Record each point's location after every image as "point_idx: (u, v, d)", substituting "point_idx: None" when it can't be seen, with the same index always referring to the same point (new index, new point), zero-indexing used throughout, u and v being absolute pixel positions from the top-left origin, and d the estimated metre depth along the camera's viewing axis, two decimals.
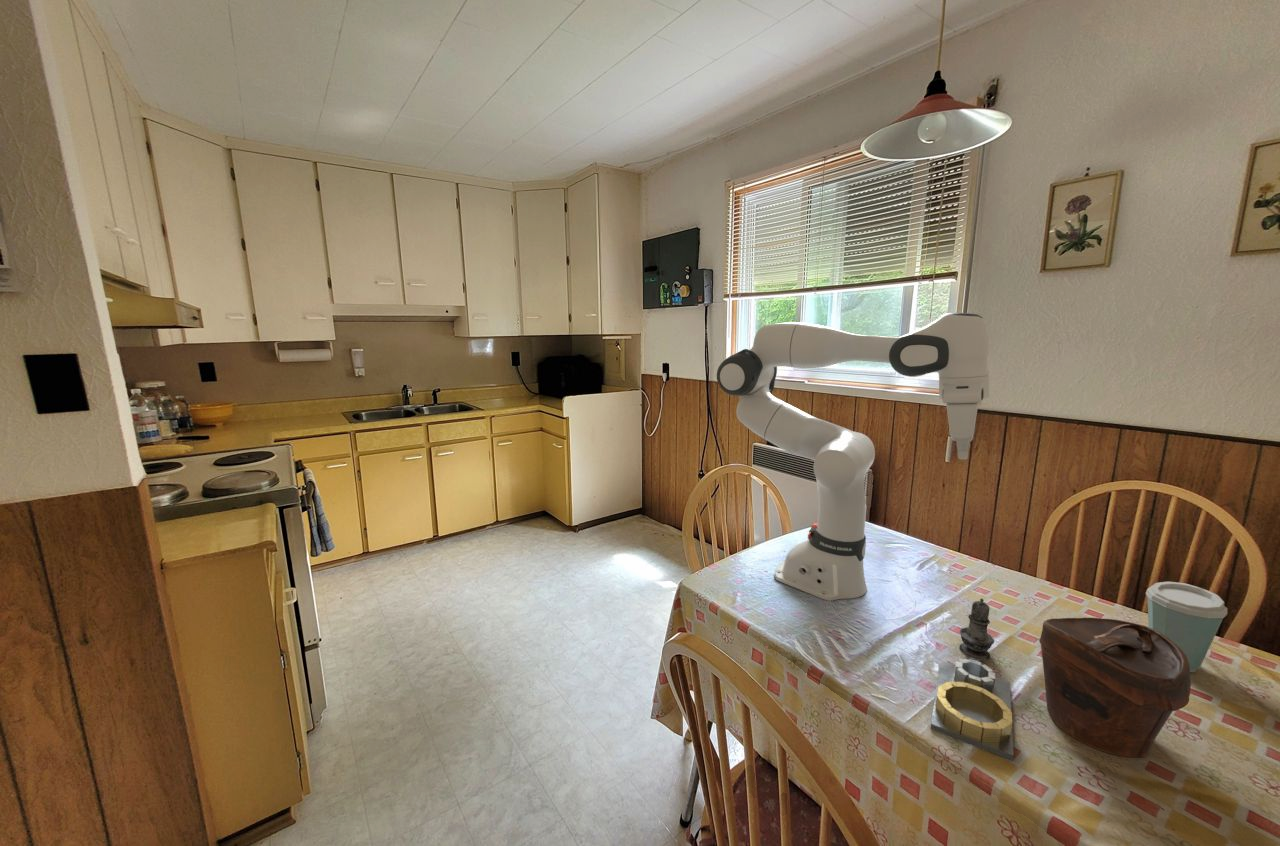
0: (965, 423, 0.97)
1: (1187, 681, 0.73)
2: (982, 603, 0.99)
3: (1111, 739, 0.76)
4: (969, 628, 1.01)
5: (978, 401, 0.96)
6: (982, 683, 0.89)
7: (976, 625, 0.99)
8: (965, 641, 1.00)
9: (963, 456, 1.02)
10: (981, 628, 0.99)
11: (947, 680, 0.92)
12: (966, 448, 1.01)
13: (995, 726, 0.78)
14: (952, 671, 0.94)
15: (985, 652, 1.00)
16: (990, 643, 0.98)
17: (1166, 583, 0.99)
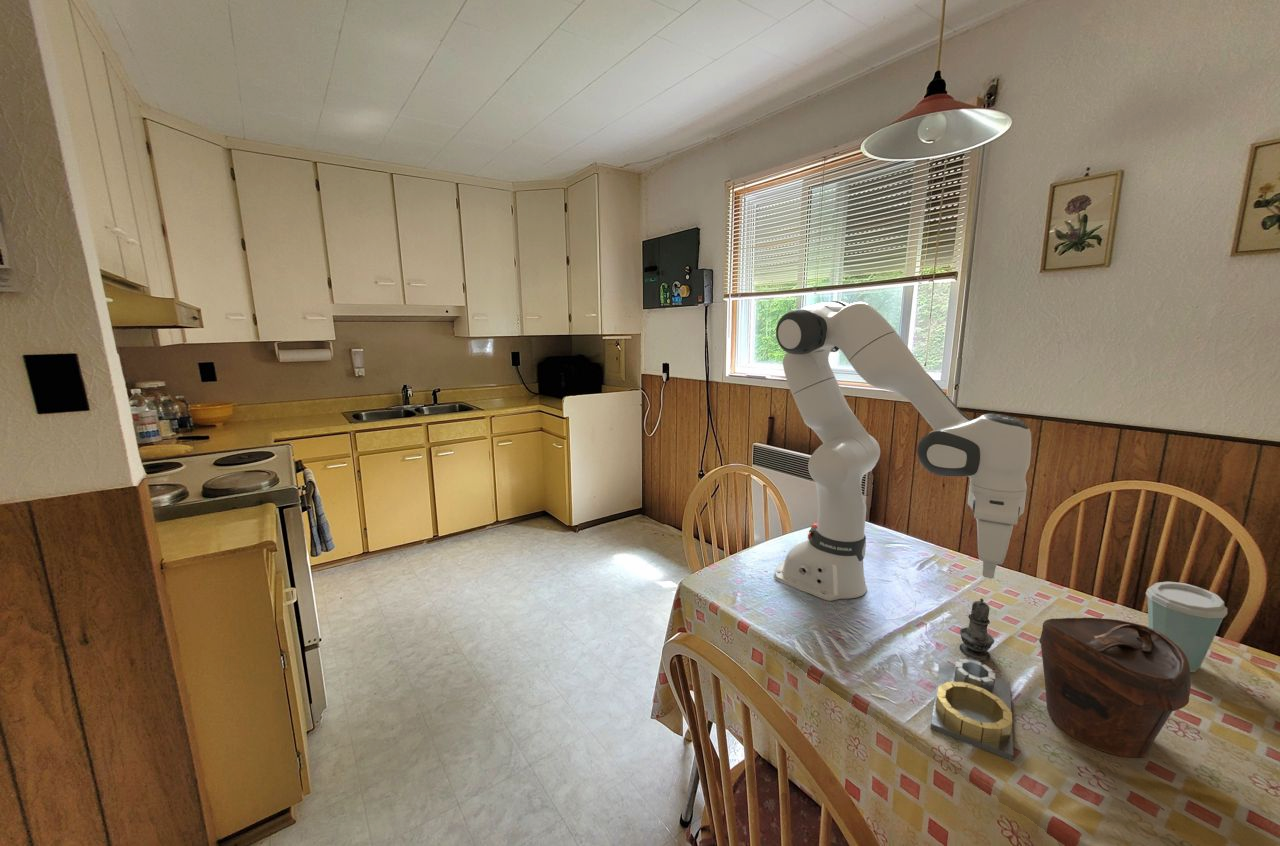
0: (996, 545, 0.88)
1: (1187, 681, 0.73)
2: (982, 603, 0.99)
3: (1111, 739, 0.76)
4: (969, 628, 1.01)
5: (1014, 523, 0.87)
6: (982, 683, 0.89)
7: (976, 625, 0.99)
8: (965, 641, 1.00)
9: (989, 574, 0.93)
10: (981, 628, 0.99)
11: (947, 680, 0.92)
12: (993, 567, 0.92)
13: (995, 726, 0.78)
14: (952, 671, 0.94)
15: (985, 652, 1.00)
16: (990, 643, 0.98)
17: (1166, 583, 0.99)
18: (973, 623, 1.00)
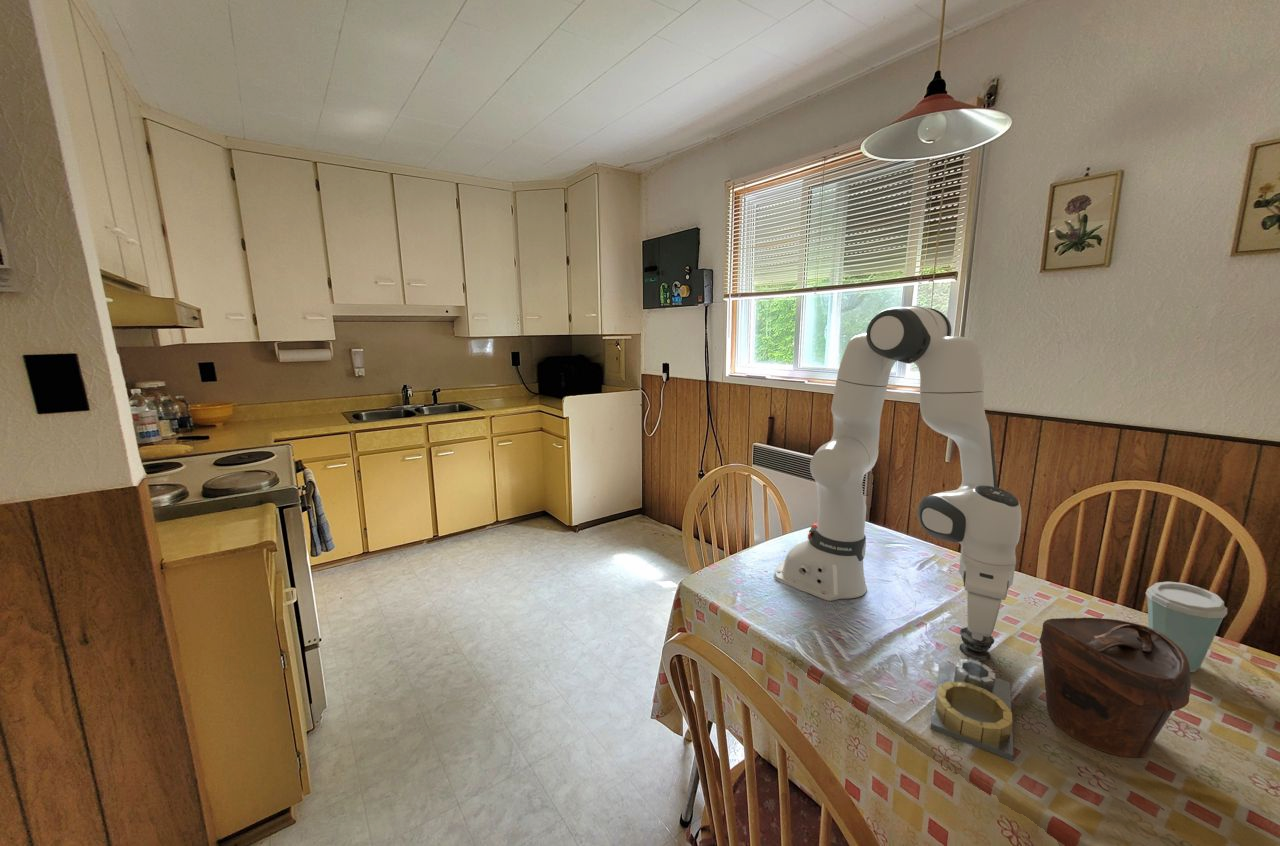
0: (985, 619, 0.91)
1: (1187, 681, 0.73)
2: None
3: (1111, 739, 0.76)
4: None
5: (1002, 599, 0.90)
6: (982, 683, 0.89)
7: None
8: (965, 641, 1.00)
9: (977, 637, 0.98)
10: None
11: (947, 680, 0.92)
12: None
13: (995, 726, 0.78)
14: (952, 671, 0.94)
15: (985, 652, 1.00)
16: (990, 643, 0.98)
17: (1166, 583, 0.99)
18: None
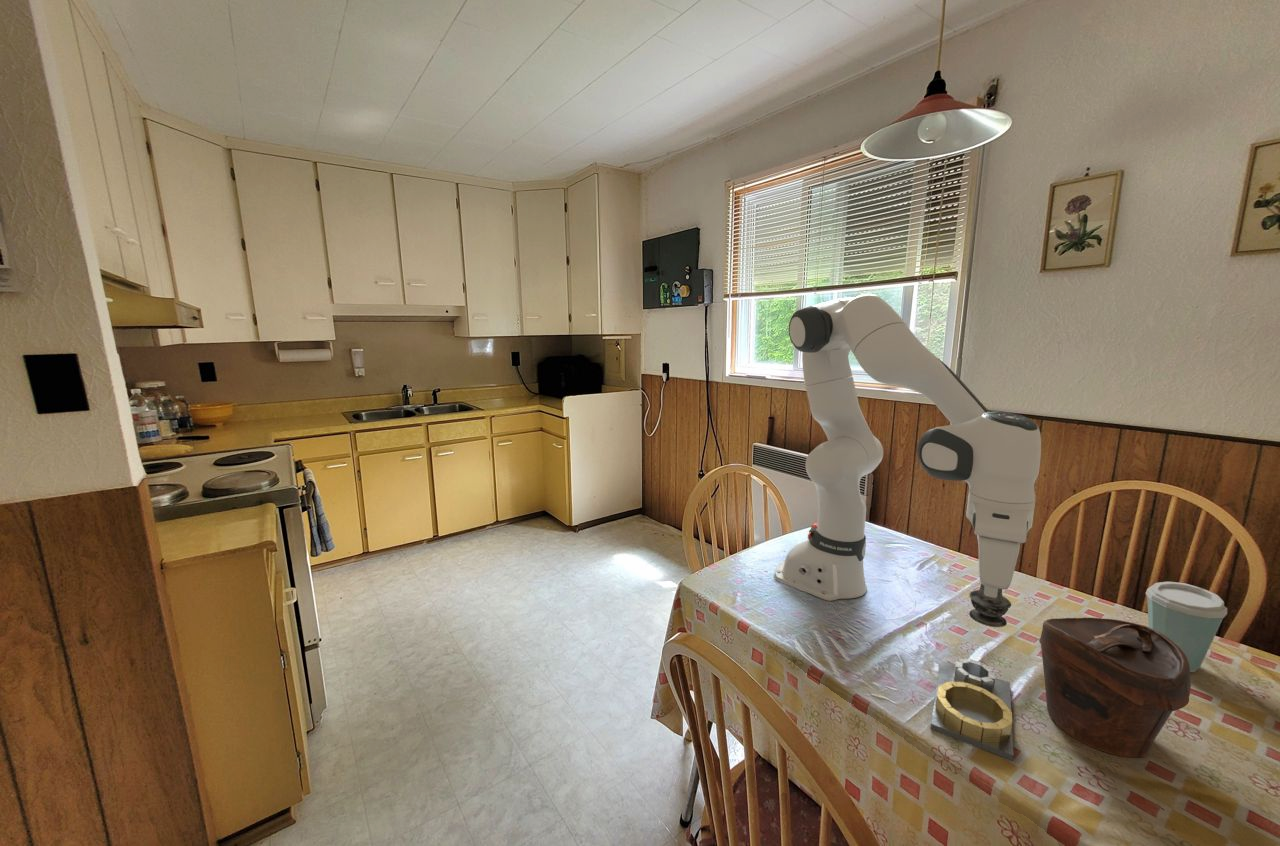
0: (1001, 567, 0.74)
1: (1187, 681, 0.73)
2: None
3: (1111, 739, 0.76)
4: (981, 590, 0.84)
5: (1022, 541, 0.73)
6: (982, 683, 0.89)
7: None
8: (976, 605, 0.84)
9: (991, 593, 0.81)
10: None
11: (947, 680, 0.92)
12: None
13: (995, 726, 0.78)
14: (952, 671, 0.94)
15: (1001, 618, 0.84)
16: (1007, 606, 0.82)
17: (1166, 583, 0.99)
18: None
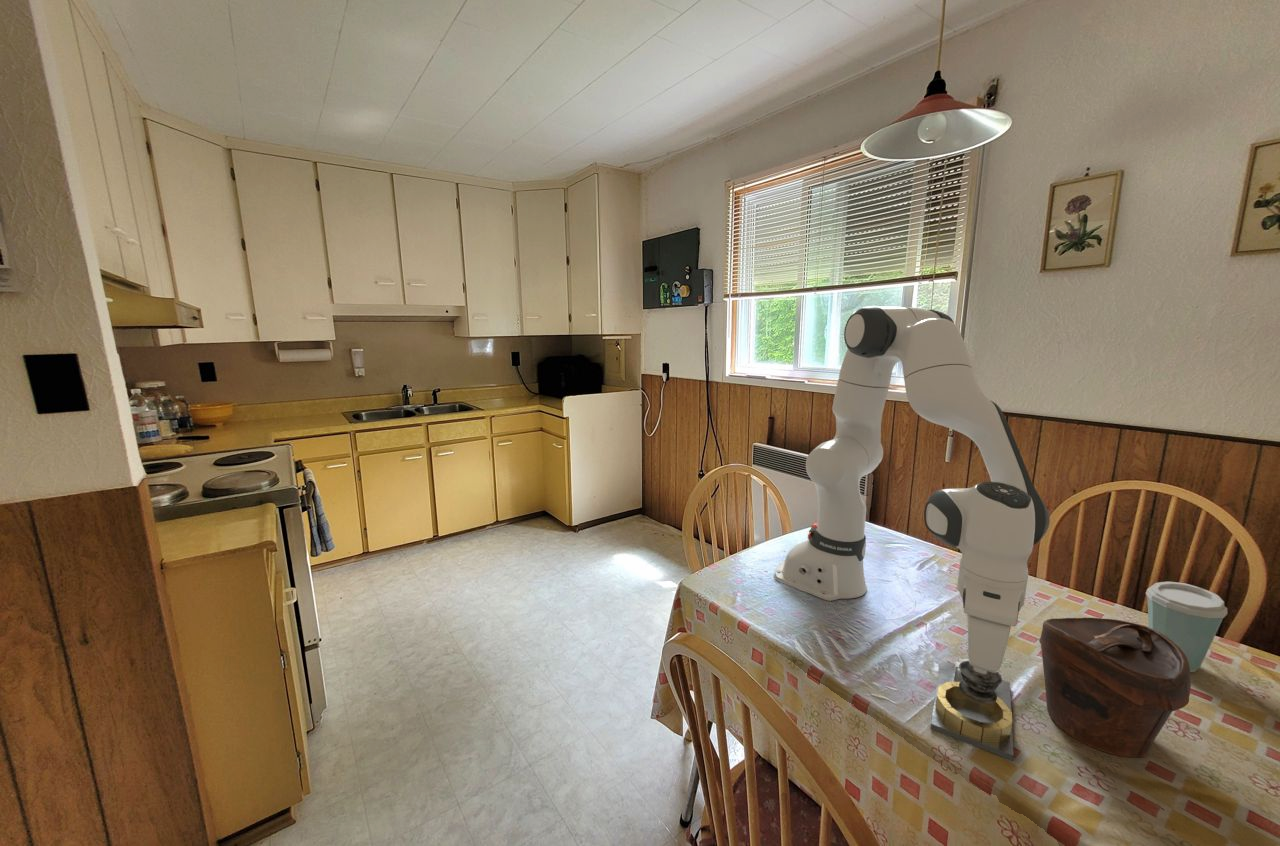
0: (990, 651, 0.72)
1: (1187, 681, 0.73)
2: None
3: (1111, 739, 0.76)
4: None
5: (1012, 625, 0.71)
6: None
7: None
8: (966, 679, 0.81)
9: (981, 669, 0.79)
10: None
11: (947, 680, 0.92)
12: None
13: (995, 726, 0.78)
14: (952, 671, 0.94)
15: (991, 692, 0.81)
16: (997, 682, 0.79)
17: (1166, 583, 0.99)
18: None
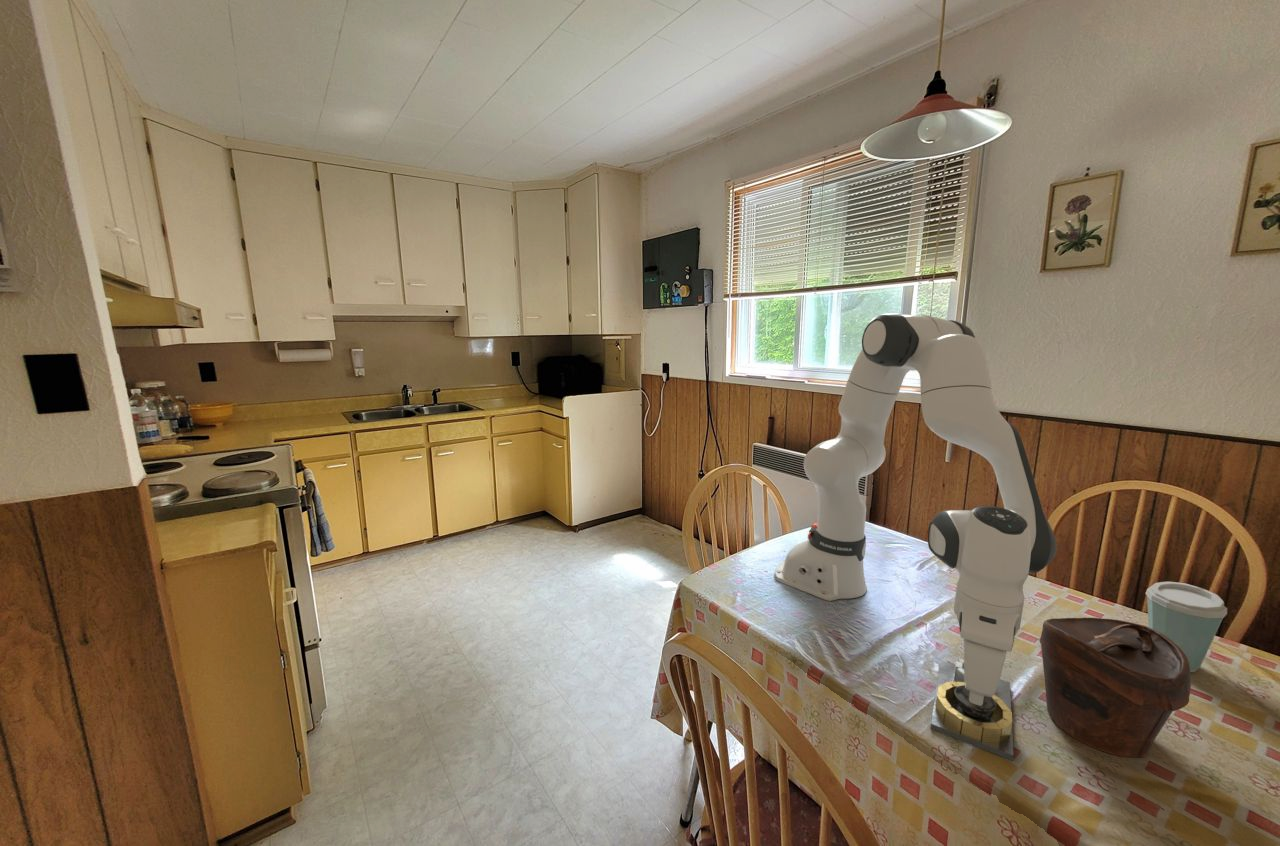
0: (986, 675, 0.72)
1: (1187, 681, 0.73)
2: None
3: (1111, 739, 0.76)
4: (966, 688, 0.83)
5: (1008, 650, 0.72)
6: None
7: None
8: (961, 704, 0.82)
9: (976, 701, 0.78)
10: None
11: (947, 680, 0.92)
12: (982, 694, 0.77)
13: (995, 726, 0.78)
14: (952, 671, 0.94)
15: (985, 717, 0.83)
16: (991, 708, 0.80)
17: (1166, 583, 0.99)
18: None
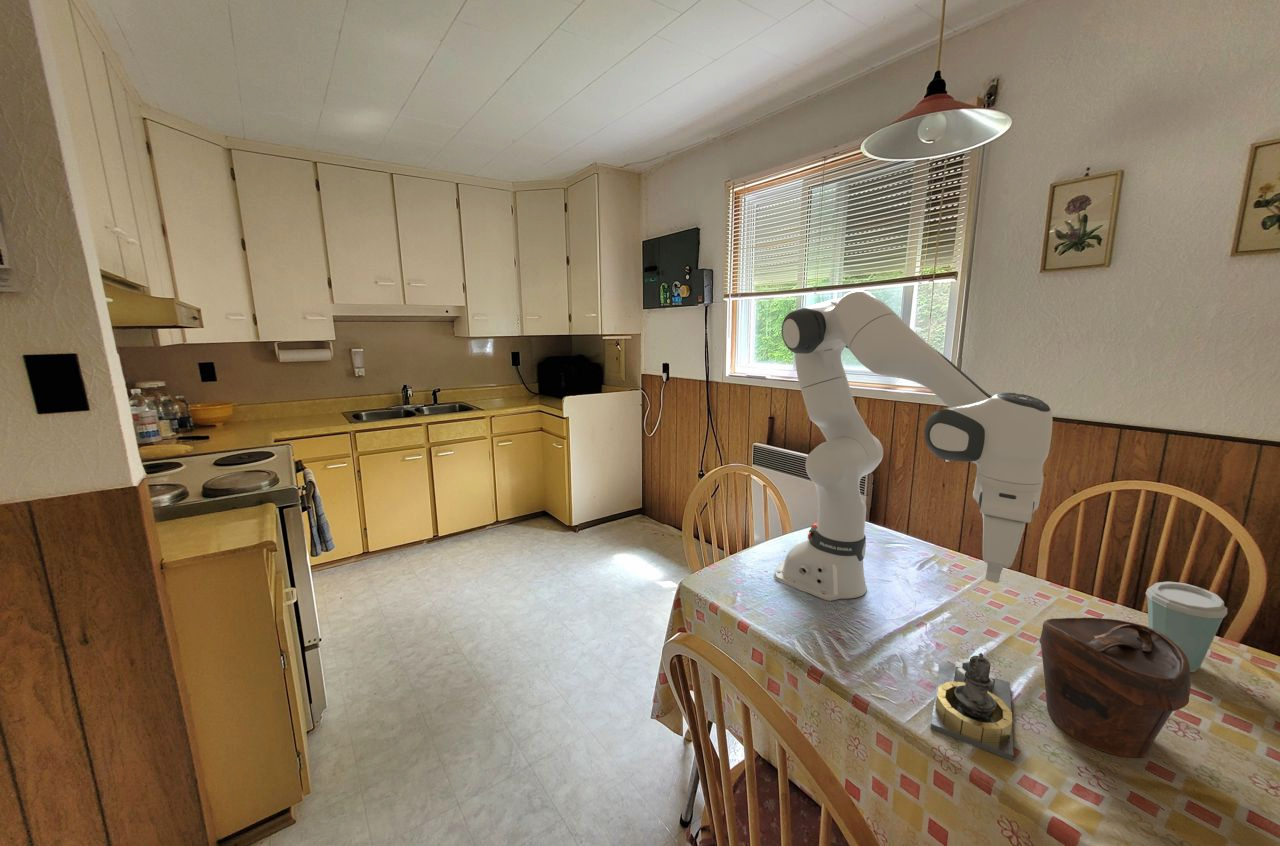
0: (1004, 546, 0.75)
1: (1187, 681, 0.73)
2: (982, 659, 0.81)
3: (1111, 739, 0.76)
4: (966, 688, 0.83)
5: (1027, 521, 0.74)
6: None
7: (974, 686, 0.81)
8: (961, 704, 0.82)
9: (993, 578, 0.80)
10: (981, 689, 0.81)
11: (947, 680, 0.92)
12: (999, 570, 0.79)
13: (995, 726, 0.78)
14: (952, 671, 0.94)
15: (985, 717, 0.83)
16: (991, 708, 0.80)
17: (1166, 583, 0.99)
18: (971, 683, 0.82)
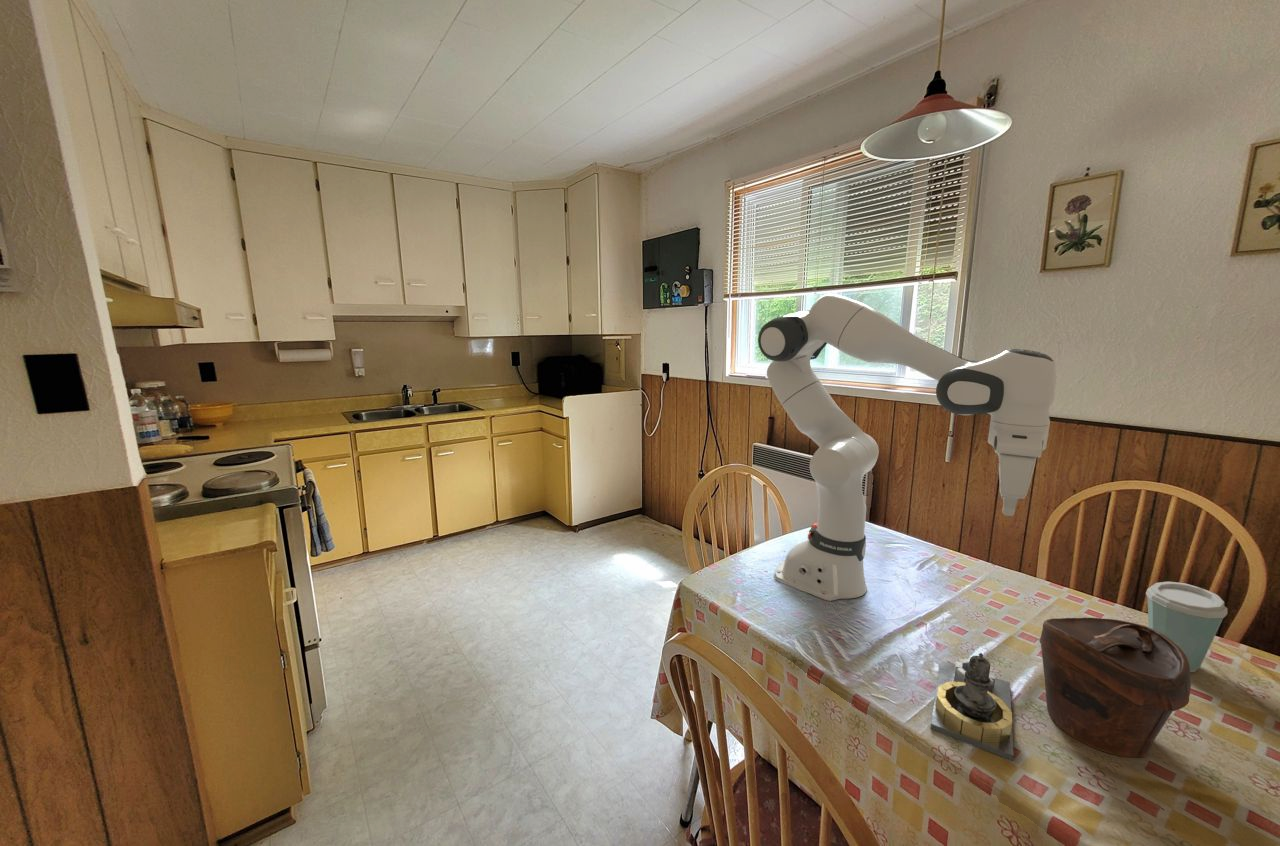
0: (1019, 479, 0.86)
1: (1187, 681, 0.73)
2: (981, 659, 0.81)
3: (1111, 739, 0.76)
4: (966, 688, 0.83)
5: (1037, 456, 0.85)
6: None
7: (974, 686, 0.81)
8: (961, 704, 0.82)
9: (1009, 512, 0.91)
10: (980, 689, 0.81)
11: (947, 680, 0.92)
12: (1014, 504, 0.90)
13: (995, 726, 0.78)
14: (952, 671, 0.94)
15: (985, 717, 0.83)
16: (991, 708, 0.80)
17: (1166, 583, 0.99)
18: (971, 683, 0.82)
